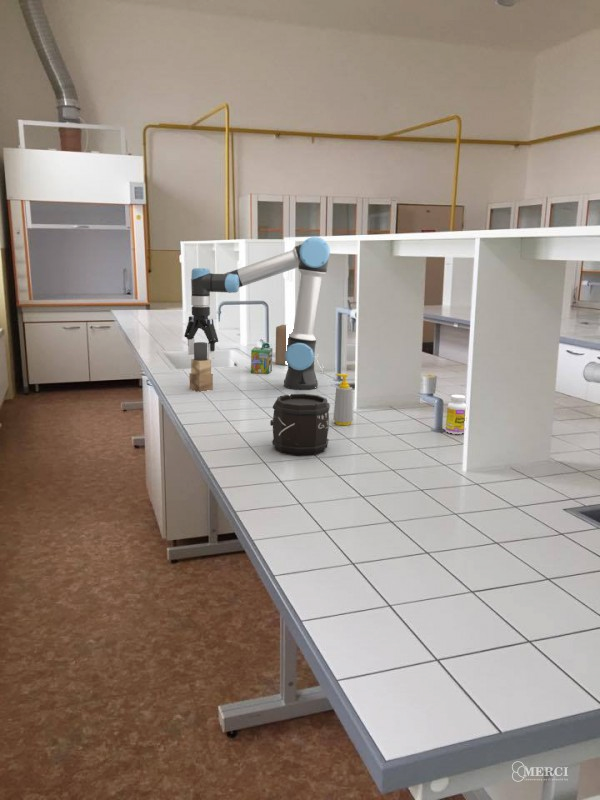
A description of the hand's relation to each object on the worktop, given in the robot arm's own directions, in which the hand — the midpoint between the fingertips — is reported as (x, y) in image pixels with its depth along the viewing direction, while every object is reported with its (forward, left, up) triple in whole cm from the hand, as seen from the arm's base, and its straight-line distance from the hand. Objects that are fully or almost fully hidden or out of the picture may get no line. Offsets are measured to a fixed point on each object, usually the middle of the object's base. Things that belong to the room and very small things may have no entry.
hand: (201, 356), depth 286 cm
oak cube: (0, 0, -7) cm, 7 cm away
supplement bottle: (-109, -26, -14) cm, 113 cm away
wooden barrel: (-87, +28, -14) cm, 93 cm away
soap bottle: (-76, -5, -14) cm, 78 cm away
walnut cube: (0, 0, -14) cm, 14 cm away
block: (+23, -73, -14) cm, 78 cm away
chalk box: (+14, -47, -14) cm, 51 cm away
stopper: (0, 0, -1) cm, 1 cm away
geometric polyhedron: (-2, -66, -14) cm, 68 cm away
